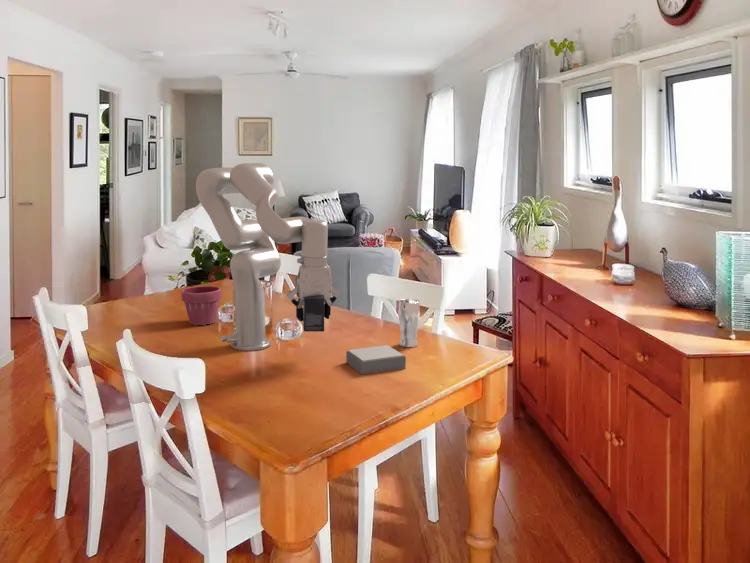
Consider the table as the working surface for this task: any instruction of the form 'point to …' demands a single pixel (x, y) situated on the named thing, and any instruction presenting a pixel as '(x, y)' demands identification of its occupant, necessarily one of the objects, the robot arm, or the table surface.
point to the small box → (313, 313)
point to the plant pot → (201, 303)
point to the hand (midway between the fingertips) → (313, 318)
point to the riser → (375, 359)
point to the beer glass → (409, 322)
